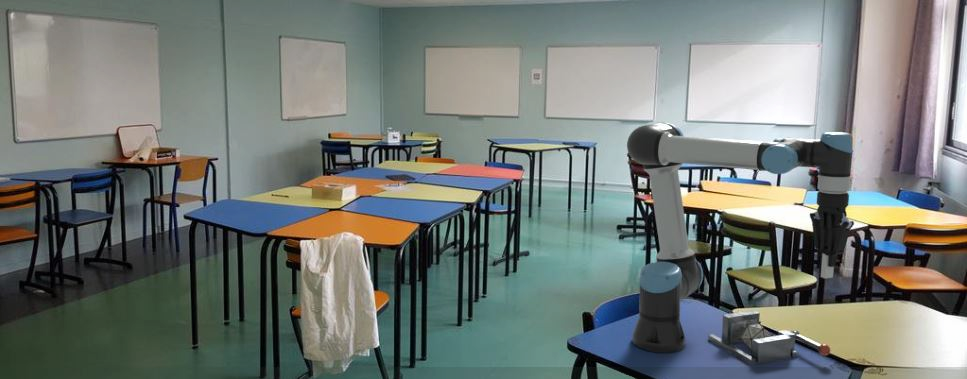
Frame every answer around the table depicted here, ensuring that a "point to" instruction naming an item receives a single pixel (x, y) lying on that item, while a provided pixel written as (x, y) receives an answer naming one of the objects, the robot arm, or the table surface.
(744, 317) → the jaw
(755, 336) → the game die
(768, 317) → the table surface
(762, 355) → the vise body
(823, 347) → the lever
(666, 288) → the robot arm
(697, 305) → the table surface
